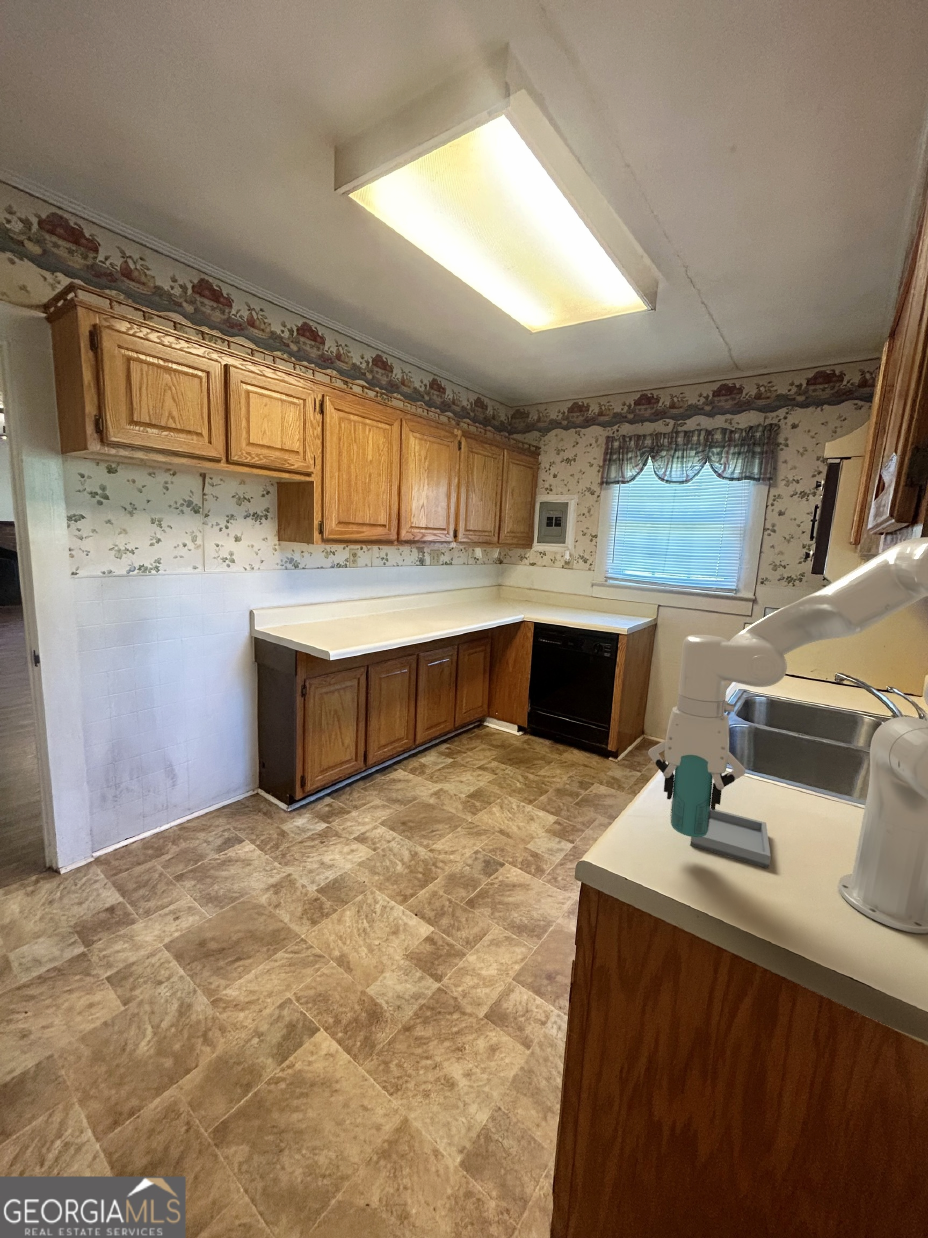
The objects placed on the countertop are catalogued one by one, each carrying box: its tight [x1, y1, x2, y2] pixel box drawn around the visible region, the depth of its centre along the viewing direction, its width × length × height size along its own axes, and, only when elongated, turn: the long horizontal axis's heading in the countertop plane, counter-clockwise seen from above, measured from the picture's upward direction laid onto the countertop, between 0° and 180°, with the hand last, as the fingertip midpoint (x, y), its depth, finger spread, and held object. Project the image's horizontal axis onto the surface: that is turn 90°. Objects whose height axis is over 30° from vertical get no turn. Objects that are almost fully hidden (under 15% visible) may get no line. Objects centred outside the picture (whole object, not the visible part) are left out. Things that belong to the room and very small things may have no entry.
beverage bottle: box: [669, 755, 714, 838], centre depth 89 cm, size 6×7×20 cm
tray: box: [689, 807, 772, 870], centre depth 98 cm, size 13×13×2 cm
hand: (691, 800), depth 90 cm, fingers closed on beverage bottle, 6 cm apart
